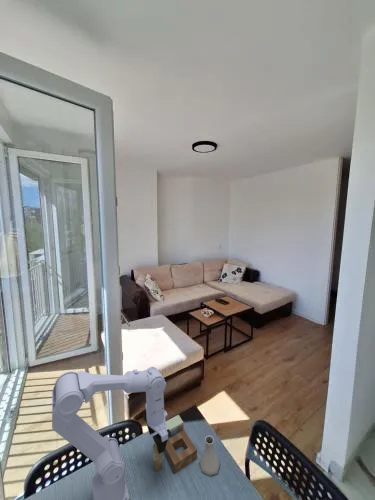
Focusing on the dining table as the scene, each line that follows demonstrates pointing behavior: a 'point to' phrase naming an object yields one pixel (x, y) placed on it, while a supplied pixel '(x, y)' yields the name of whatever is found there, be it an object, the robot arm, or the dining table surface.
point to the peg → (157, 459)
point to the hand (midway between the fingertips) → (156, 441)
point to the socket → (183, 457)
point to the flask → (209, 458)
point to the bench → (175, 424)
